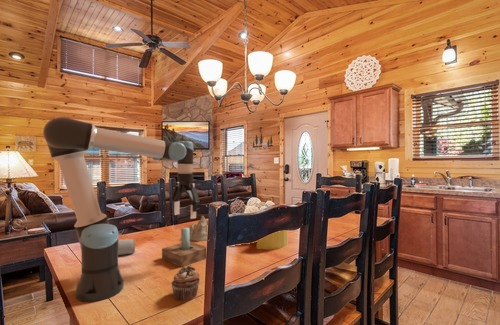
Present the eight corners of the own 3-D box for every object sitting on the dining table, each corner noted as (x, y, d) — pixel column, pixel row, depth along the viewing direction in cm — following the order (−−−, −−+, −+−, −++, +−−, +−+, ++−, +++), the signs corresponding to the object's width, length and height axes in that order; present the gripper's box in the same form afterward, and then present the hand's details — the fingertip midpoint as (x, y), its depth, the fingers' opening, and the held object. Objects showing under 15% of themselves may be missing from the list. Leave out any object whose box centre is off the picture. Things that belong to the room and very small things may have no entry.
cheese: (240, 248, 144) (239, 221, 144) (246, 235, 170) (246, 212, 170) (288, 250, 141) (288, 222, 141) (287, 236, 167) (287, 212, 167)
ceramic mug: (135, 254, 135) (135, 239, 135) (117, 257, 131) (117, 241, 131) (134, 249, 144) (134, 234, 144) (117, 251, 141) (117, 236, 141)
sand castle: (220, 237, 165) (218, 213, 165) (197, 244, 154) (195, 218, 154) (206, 233, 176) (205, 211, 177) (184, 239, 165) (182, 215, 166)
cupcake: (190, 286, 101) (190, 260, 101) (204, 295, 94) (204, 267, 94) (166, 295, 94) (166, 267, 94) (179, 305, 87) (179, 275, 87)
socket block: (181, 267, 119) (181, 256, 119) (162, 258, 129) (161, 248, 129) (208, 257, 131) (208, 247, 131) (189, 250, 141) (189, 241, 141)
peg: (184, 259, 127) (184, 230, 128) (179, 257, 130) (179, 228, 130) (191, 257, 130) (191, 228, 131) (186, 255, 133) (186, 227, 133)
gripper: (207, 173, 124) (207, 218, 124) (177, 172, 141) (176, 212, 141) (194, 173, 119) (194, 221, 119) (164, 172, 135) (164, 213, 135)
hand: (184, 216), depth 130 cm, fingers open, 13 cm apart
